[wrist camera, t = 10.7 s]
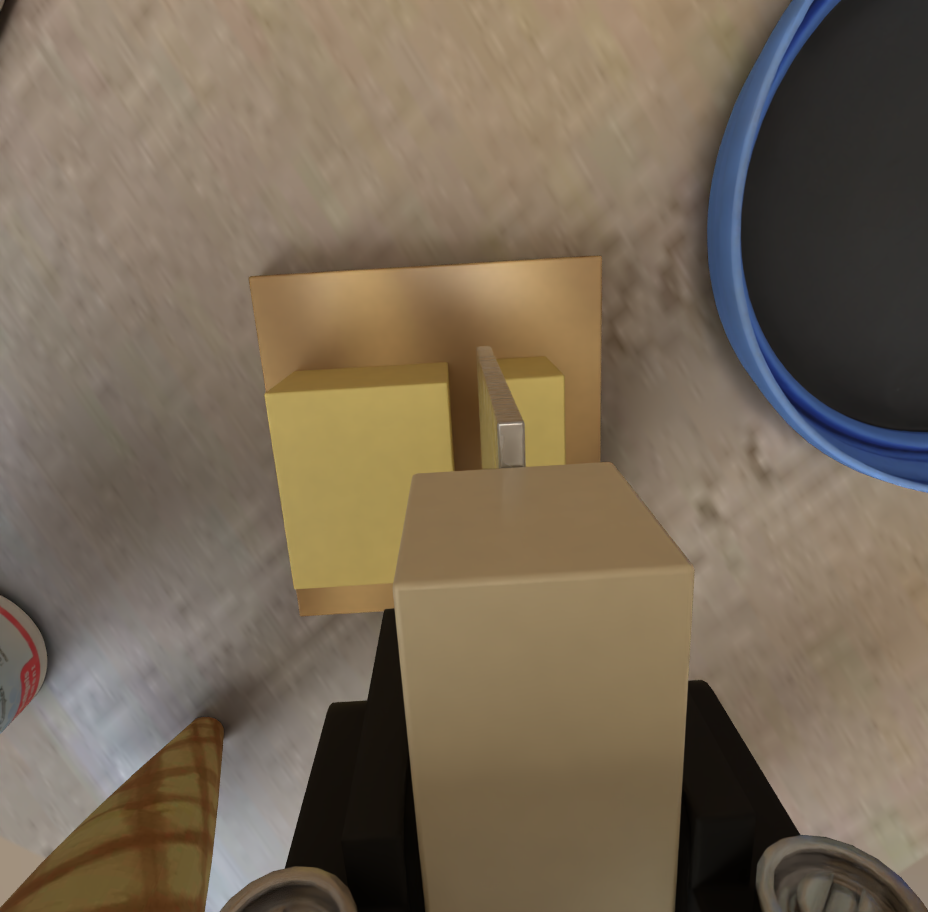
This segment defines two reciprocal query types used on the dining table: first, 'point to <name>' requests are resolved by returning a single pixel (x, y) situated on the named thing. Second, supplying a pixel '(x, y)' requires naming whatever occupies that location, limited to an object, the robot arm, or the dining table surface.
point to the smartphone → (1, 4)
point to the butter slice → (539, 407)
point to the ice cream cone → (140, 838)
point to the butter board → (439, 346)
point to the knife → (541, 680)
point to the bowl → (832, 231)
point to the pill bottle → (19, 661)
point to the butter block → (355, 464)
